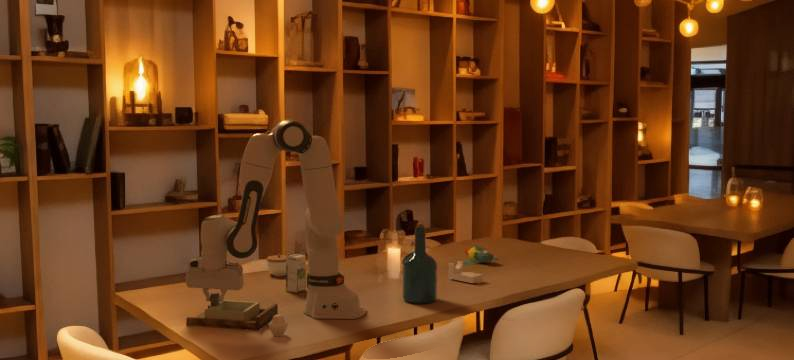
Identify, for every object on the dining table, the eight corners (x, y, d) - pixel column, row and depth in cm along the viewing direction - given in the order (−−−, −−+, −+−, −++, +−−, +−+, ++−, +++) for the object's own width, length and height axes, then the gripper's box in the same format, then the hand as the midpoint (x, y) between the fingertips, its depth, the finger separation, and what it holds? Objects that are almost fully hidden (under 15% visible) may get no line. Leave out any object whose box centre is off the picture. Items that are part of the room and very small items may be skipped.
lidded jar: (287, 277, 317) (287, 256, 316) (263, 276, 319) (263, 255, 318) (294, 272, 327) (294, 252, 327) (271, 271, 329) (271, 251, 328)
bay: (277, 316, 258) (277, 303, 257) (258, 330, 241) (258, 317, 240) (209, 311, 263) (209, 299, 262) (186, 325, 246) (186, 312, 245)
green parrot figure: (487, 240, 366) (510, 245, 355) (487, 257, 367) (509, 263, 356) (447, 246, 349) (469, 252, 337) (446, 264, 350) (468, 270, 338)
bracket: (448, 280, 316) (448, 263, 315) (458, 277, 321) (458, 260, 320) (472, 285, 307) (472, 267, 306) (482, 282, 312) (482, 265, 312)
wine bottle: (428, 294, 290) (429, 220, 287) (442, 303, 277) (443, 225, 275) (396, 297, 285) (396, 221, 282) (409, 306, 273) (409, 226, 270)
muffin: (291, 335, 236) (291, 314, 235) (276, 339, 232) (276, 318, 231) (279, 331, 240) (279, 310, 240) (264, 335, 236) (264, 314, 235)
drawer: (259, 313, 257) (259, 291, 256) (243, 324, 243) (243, 301, 243) (220, 310, 260) (219, 288, 259) (202, 321, 246) (201, 298, 246)
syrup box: (294, 288, 298) (294, 253, 297) (306, 290, 295) (306, 255, 294) (285, 291, 293) (285, 255, 292) (297, 293, 290) (297, 257, 289)
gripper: (246, 261, 252) (246, 300, 253) (191, 258, 256) (192, 297, 257) (238, 265, 246) (239, 305, 247) (183, 262, 250) (183, 301, 251)
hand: (214, 301), depth 252 cm, fingers closed on drawer, 3 cm apart
